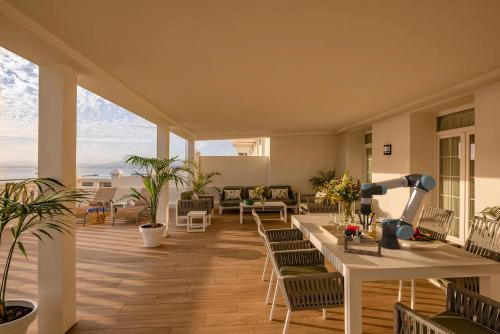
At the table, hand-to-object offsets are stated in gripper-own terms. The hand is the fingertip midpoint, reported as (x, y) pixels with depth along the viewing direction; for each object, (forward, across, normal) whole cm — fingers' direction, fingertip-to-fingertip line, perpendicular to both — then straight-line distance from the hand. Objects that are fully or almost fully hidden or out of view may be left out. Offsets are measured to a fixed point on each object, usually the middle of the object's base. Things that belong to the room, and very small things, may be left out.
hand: (365, 234), depth 225 cm
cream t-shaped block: (+7, -6, 0) cm, 9 cm away
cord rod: (+7, -2, 0) cm, 7 cm away
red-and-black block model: (+15, -12, +44) cm, 48 cm away
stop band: (+6, -9, 0) cm, 11 cm away
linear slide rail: (+15, -2, 0) cm, 15 cm away
